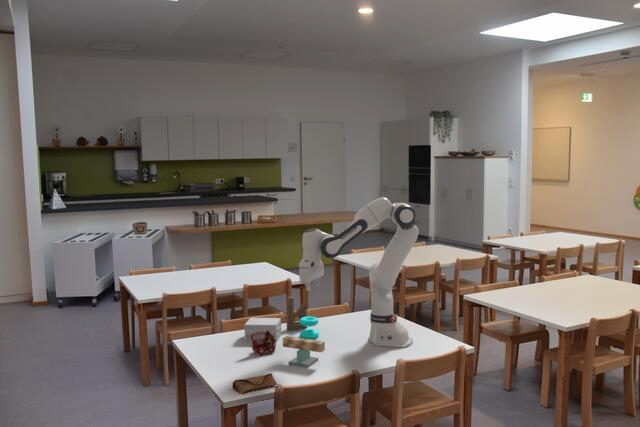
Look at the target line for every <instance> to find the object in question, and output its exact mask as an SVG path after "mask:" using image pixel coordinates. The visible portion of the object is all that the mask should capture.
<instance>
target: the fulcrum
mask: <svg viewBox="0 0 640 427" xmlns="http://www.w3.org/2000/svg"><path fill="white" fill-rule="evenodd" d="M318 361H319V357H315V356H311V351H308V350H301V349H297V350H296V356H295V357H293V359H291V360H290V361H288V365H290V366H291V365H292V366H297V367H303V368H307V369H308V368H310V367H312V366H313V365H315V363H317V362H318Z"/></svg>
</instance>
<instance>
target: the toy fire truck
mask: <svg viewBox="0 0 640 427" xmlns="http://www.w3.org/2000/svg"><path fill="white" fill-rule="evenodd" d="M251 339H252V342H251V343H252V345H251V347H252V352H254V353H256V354H257V355H258V356H261V357H262V356H263V355H265V353H268V354H269V355H271V354H274V353H275V351H276V348H277V342H276V340H275V339H274V337H273V335H272V334H270V331H266V333H265V332H260V333H254V334H252V335H251Z"/></svg>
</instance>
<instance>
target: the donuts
mask: <svg viewBox="0 0 640 427" xmlns="http://www.w3.org/2000/svg"><path fill="white" fill-rule="evenodd" d="M319 320H320V319H318V317H316V316H308V315H307V317H303V318H301V319H300V321H299V320H298V322H300V324H301V325H303V326H306V327H307V328H305V329H301V331H300V332H299V338H303V339H310V340H315V339H317V338H318V337H319V335H320V333H319V331H318V330H317V329H315V328H310V327H314V326H315V327H316V325H318V323H319ZM308 327H309V328H308Z"/></svg>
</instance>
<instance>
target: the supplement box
mask: <svg viewBox="0 0 640 427" xmlns="http://www.w3.org/2000/svg"><path fill="white" fill-rule="evenodd" d="M243 325H244V342H246V343H247V342H249V343H252V339H251V335H252V334H254V333H260V332H265V333H266V331H270V334H272V335H273V337H274V339H275V340H276V343H277V342H278V341H279V339H280V338H281V336H282V332H283V331H282V318H281V317H250V318H249V319H248V320H247V321H246V322H245V323H244V324H243Z"/></svg>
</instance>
